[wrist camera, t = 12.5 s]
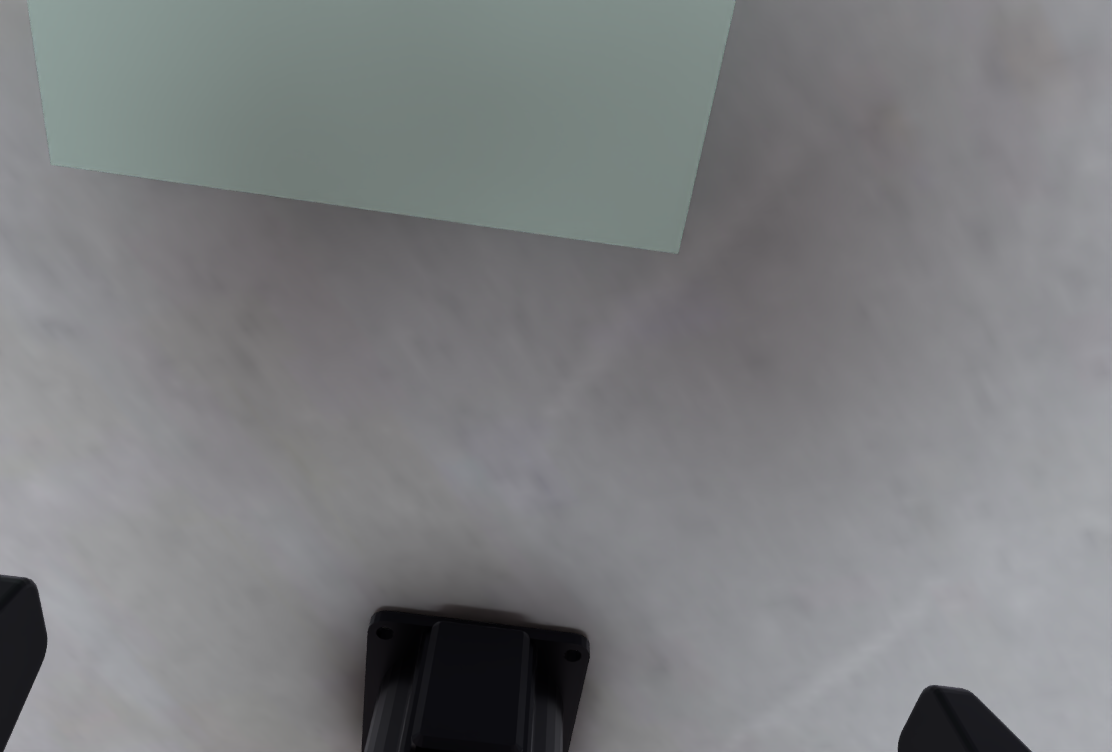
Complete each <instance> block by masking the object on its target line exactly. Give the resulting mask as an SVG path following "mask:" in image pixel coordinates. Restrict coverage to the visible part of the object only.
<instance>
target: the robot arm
mask: <svg viewBox="0 0 1112 752" xmlns="http://www.w3.org/2000/svg"><path fill="white" fill-rule="evenodd" d="M382 627H387V628H390V629H384V628H382ZM46 648H47V632H46V627H45V622H44V617H43V612H42V607H41V602H40V598H39V593H38V589H37V586H36V584H35V583H34V582H33V581H32V580H31V579H28V578H25V577H16V576H8V575H0V752H3V751H4V749H5V747H6V745H7V742H8V740H9V738H10V736H11V733H12V731H13V729H14V726H15V724H16V722H17V720H18V717H19V715H20V713H21V710H22V708H23V706H24V704H25V701H26V699H27V697H28V694H29V692H30V690H31V688H32V685H33V683H34V681H35V679H36V676H37V674H38V672H39V669H40V667H41V665H42V662H43V660H44V657H45V653H46ZM569 650H577V651H569ZM589 658H590V648H589V641H588V640H587V638H585V637H584V636H582V635H579V634H576V633H568V632H560V631H551V630H543V629H535V628H526V627H518V626H510V625H501V624H493V623H485V622H476V621H468V620H460V619H452V618H443V617H435V616H427V615H418V614H410V613H402V612H393V611H380V612H378V613H375V614H374V615H373V616H372V618H371V621H370V625H369V628H368V636H367V655H366V675H365V694H364V714H363V734H362V752H568V750H569V745H570V741H571V736H572V732H573V728H574V723H575V719H576V715H577V710H578V706H579V702H580V697H581V693H582V689H583V684H584V680H585V676H586V671H587V667H588V662H589ZM898 752H1032V751H1031V750H1030V749H1029V748H1028V747H1027V746H1026V745H1025V744H1024V743H1023V742H1022V741H1021V740H1020V739H1019V738H1018V737H1017V736H1016V735H1015V734H1014V733H1013V732H1012V731H1011V730H1010V729H1009V728H1008V727H1007V726H1006V725H1005V724H1004V723H1003V722H1002V721H1001V720H1000V719H999V718H998V717H996V716H995V715H994V714H993V713H992V712H991V711H990V710H989V709H988V708H987V707H986V706H985V705H984V704H983V703H982V702H981V701H980V700H979V699H978V698H977V697H976V696H975V695H974V694H973V693H971V692H970V691H968V690H966V689H963V688H955V687H947V686H938V685H931V686H928V687H927V688H925V689H924V690H923V691H922V693H921V695H920V697H919V699H918V701H917V702H916V704H915V706H914V708H913V710H912V712H911V714H910V716H909V718H908V720H907V722H906V724H905V726H904V728H903V730H902V732H901V735H900V738H899V742H898Z"/></svg>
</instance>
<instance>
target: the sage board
mask: <svg viewBox="0 0 1112 752" xmlns="http://www.w3.org/2000/svg"><path fill="white" fill-rule="evenodd" d="M735 2H736V0H27V4H28V11H29V18H30V25H31V32H32V39H33V46H34V52H35V59H36V66H37V73H38V80H39V87H40V94H41V101H42V108H43V115H44V122H45V128H46V135H47V142H48V149H49V156H50V163H51V165H56V166H63V167H70V168H77V169H84V170H91V171H98V172H105V173H112V174H119V175H126V176H133V177H140V178H147V179H154V180H161V181H168V182H175V183H182V184H189V185H196V186H203V187H210V188H217V189H224V190H231V191H238V192H245V193H252V194H259V195H266V196H273V197H280V198H287V199H294V200H301V201H309V202H316V203H323V204H330V205H337V206H344V207H351V208H358V209H365V210H372V211H379V212H386V213H393V214H400V215H407V216H414V217H421V218H428V219H435V220H442V221H449V222H456V223H463V224H470V225H477V226H484V227H491V228H498V229H505V230H512V231H519V232H526V233H533V234H540V235H547V236H554V237H561V238H568V239H575V240H582V241H589V242H596V243H603V244H610V245H617V246H624V247H631V248H638V249H645V250H652V251H659V252H666V253H674V254H678V253H679V248H680V244H681V240H682V235H683V231H684V226H685V222H686V218H687V213H688V209H689V204H690V200H691V196H692V191H693V187H694V182H695V178H696V174H697V169H698V165H699V160H700V156H701V152H702V147H703V143H704V138H705V134H706V130H707V125H708V121H709V116H710V112H711V108H712V103H713V99H714V94H715V90H716V86H717V81H718V77H719V72H720V68H721V64H722V59H723V55H724V50H725V46H726V42H727V37H728V33H729V28H730V24H731V20H732V15H733V11H734V6H735Z"/></svg>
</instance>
